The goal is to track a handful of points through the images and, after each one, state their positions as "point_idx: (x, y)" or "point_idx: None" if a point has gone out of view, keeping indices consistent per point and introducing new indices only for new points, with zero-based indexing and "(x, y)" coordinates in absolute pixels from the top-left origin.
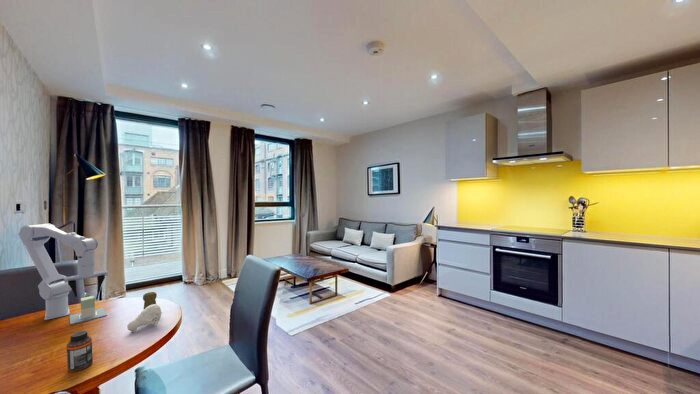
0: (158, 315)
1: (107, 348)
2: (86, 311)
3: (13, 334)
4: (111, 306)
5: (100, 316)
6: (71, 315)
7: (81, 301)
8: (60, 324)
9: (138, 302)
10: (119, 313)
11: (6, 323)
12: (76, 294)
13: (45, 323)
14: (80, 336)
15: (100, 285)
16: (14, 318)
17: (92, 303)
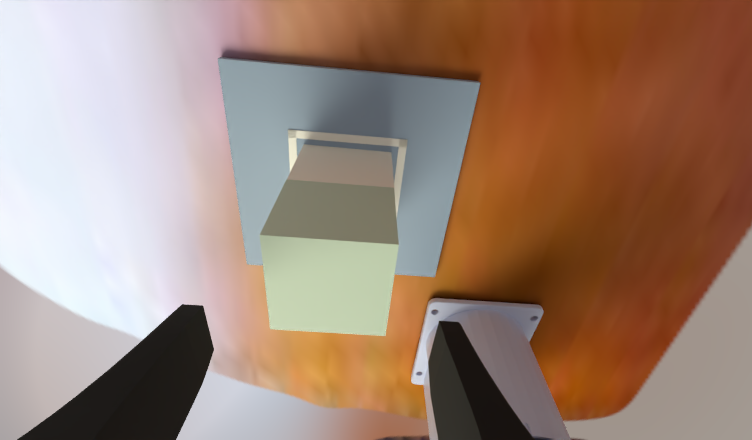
0: None
1: None
2: (356, 169)
3: (729, 208)
4: (205, 260)
5: (265, 62)
6: (427, 269)
7: (395, 238)
8: (514, 159)
9: (8, 195)
10: (112, 17)
11: (639, 386)
12: (450, 346)
13: (556, 257)
14: None
15: (83, 398)
16: (593, 416)
17: (297, 201)
